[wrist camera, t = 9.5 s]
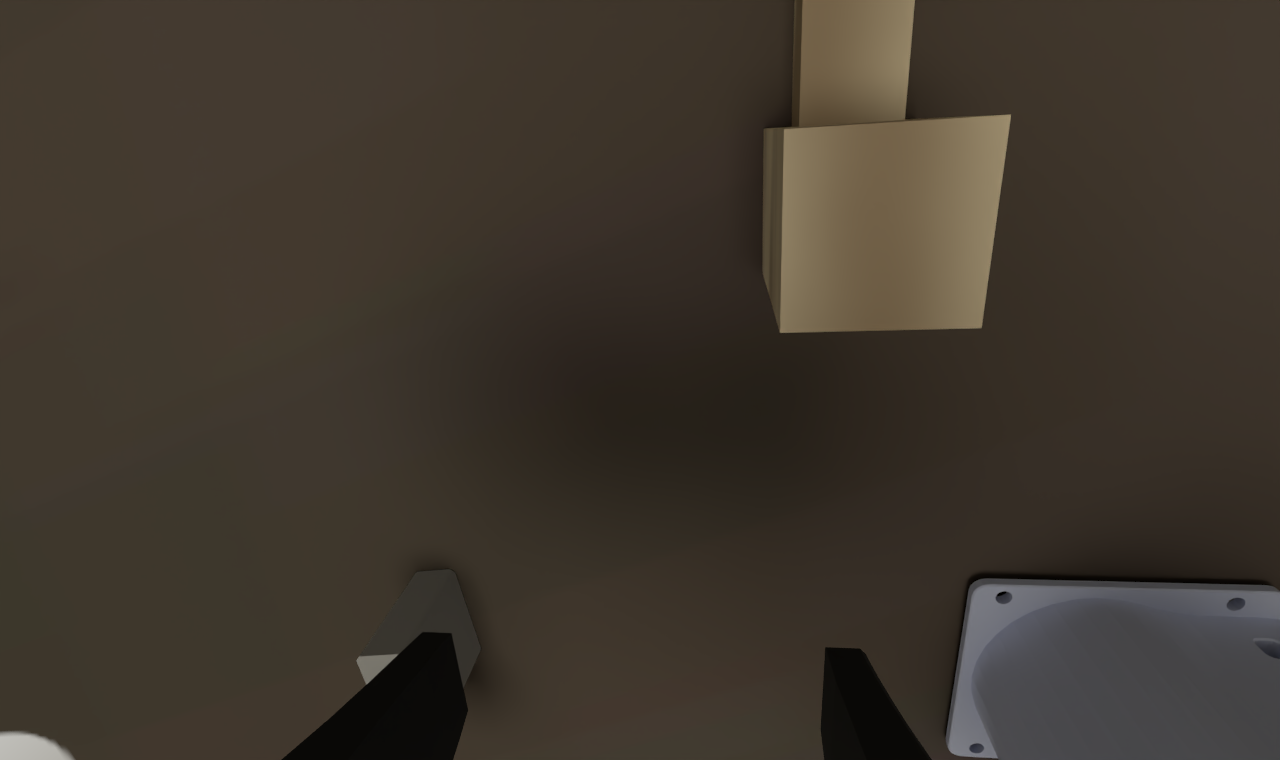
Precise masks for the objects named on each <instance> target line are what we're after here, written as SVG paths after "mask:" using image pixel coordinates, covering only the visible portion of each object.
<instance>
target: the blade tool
mask: <svg viewBox="0 0 1280 760" xmlns="http://www.w3.org/2000/svg"><path fill="white" fill-rule="evenodd" d="M914 4H915V0H795V3H794V45H793V88H792V127H779V128H764V151H763V266H762V273H763V276H764V280H765V283H766V287H767V290H768V293H769V297H770V300H771V304H772V307H773V311H774V314H775V317H776V321H777V324H778V328H779V331H780V333H796V332H838V331H881V330H923V329H966V328H982V321H983V314H984V307H985V299H986V292H987V285H988V278H989V270H990V263H991V256H992V249H993V242H994V234H995V227H996V220H997V213H998V205H999V198H1000V191H1001V184H1002V177H1003V169H1004V162H1005V155H1006V148H1007V140H1008V133H1009V126H1010V119H1011V115H991V116H967V117H944V118H920V119H905V112H906V100H907V88H908V76H909V64H910V52H911V40H912V28H913V16H914Z"/></svg>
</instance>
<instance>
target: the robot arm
mask: <svg viewBox="0 0 1280 760" xmlns="http://www.w3.org/2000/svg"><path fill="white" fill-rule="evenodd" d="M1004 591H1006V593H1005V594H1004V595H1002V596H996V595H997V594H998V593H1000V592H1004ZM1233 598H1234V599H1233ZM1231 599H1233V600H1232V601H1230V602H1228V601H1229V600H1231ZM467 712H468V708H467V703H466V698H465V694H464V689H463V684H462V680H461V675H460V670H459V665H458V661H457V656H456V651H455V647H454V642H453V637H452V633H438V632H422V633H421V634H420V635H419V636H418V637H417V638H415V639H414V640H413V641H412V642H411V643H410V644H409V645H408V646H407V647H406V648H405V649H404V650H403V651H402V652H401V653H399V654H398V655H397V656H396V657H395V658H394V659H393V660H392V661H391V662H390V663H389V664H388V665H387V666H386V667H385V668H384V669H383V670H381V671H380V672H379V673H378V674H377V675H376V676H375V677H374V678H373V679H372V680H371V681H370V682H369V683H368V684H367V685H366V686H365V687H363V688H362V689H361V690H360V691H359V692H358V693H357V694H356V695H355V696H354V697H353V698H352V699H350V700H349V701H348V702H347V703H346V704H345V705H344V706H343V707H342V708H341V709H340V710H338V711H337V712H336V713H335V714H334V715H333V716H332V717H331V718H330V719H329V720H327V721H326V722H325V723H324V724H323V725H322V726H320V727H319V728H318V729H317V730H316V731H315V732H313V733H312V734H311V735H310V736H309V737H308V738H306V739H305V740H304V741H303V742H302V743H300V744H299V745H298V746H297V747H296V748H295V749H293V750H292V751H291V752H290V753H289V754H288V755H286V756H285V757H284V758H283V759H282V760H453V758H454V755H455V752H456V749H457V745H458V742H459V739H460V736H461V732H462V729H463V725H464V722H465V719H466V715H467ZM821 736H822V744H823V752H824V760H931V758H930V757H929V755H928V754H927V752H926V751H925V749H924V748H923V747H922V745H921V744H920V742H919V741H918V739H917V738H916V736H915V735H914V733H913V732H912V731H911V729H910V728H909V726H908V725H907V723H906V721H905V720H904V718H903V717H902V715H901V714H900V712H899V711H898V709H897V707H896V706H895V704H894V703H893V701H892V699H891V698H890V696H889V695H888V693H887V691H886V690H885V688H884V686H883V685H882V683H881V681H880V679H879V678H878V676H877V674H876V672H875V671H874V669H873V667H872V665H871V663H870V662H869V660H868V658H867V656H866V654H865V653H864V652H863V651H862V650H861V649H854V648H828V647H825V664H824V681H823V699H822V716H821ZM975 743H976V744H975ZM946 744H947V746H948V749H949V750H950V752H951V753H953V754H955V755H958V756H967V757H985V758H998V759H999V760H1280V591H1279V590H1278V589H1277V588H1275V587H1273V586H1269V585H1239V584H1198V583H1156V582H1115V581H1073V580H1032V579H990V578H985V579H979V580H977V581H975V582H974V583H973V584H972V585H970V588H969V591H968V597H967V604H966V610H965V617H964V623H963V629H962V636H961V642H960V649H959V655H958V662H957V668H956V674H955V681H954V687H953V694H952V700H951V707H950V713H949V720H948V726H947V732H946Z"/></svg>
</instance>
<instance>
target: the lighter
mask: <svg viewBox="0 0 1280 760" xmlns="http://www.w3.org/2000/svg"><path fill="white" fill-rule="evenodd" d="M422 632H438V633H452V637H453V642H454V647H455V651H456V656H457V661H458V665H459V670H460V675H461V680H462V684H463V688H464V686H465V684H466V682H467V679H468V677H469V675H470V673H471V671H472V668H473V666H474V664H475V662H476V659H477V657H478V655H479V653H480V651H481V647H480V644H479V641H478V638H477V635H476V632H475V629H474V626H473V623H472V620H471V617H470V614H469V612H468V609H467V606H466V603H465V600H464V597H463V594H462V591H461V588H460V585H459V582H458V579H457V576H456V573H455V572H454V571H452V570H450V569H444V570H432V571H420V572H416V573H415V575H414V576H413V578H412V579H411V581H410V582H409V584H408V585H407V587H406V588H405V590H404V591H403V593H402V594H401V595H400V597H399V598H398V600H397V601H396V603H395V604H394V606H393V607H392V609H391V610H390V612H389V613H388V615H387V616H386V618H385V619H384V621H383V622H382V624H381V625H380V627H379V628H378V630H377V631H376V632H375V634H374V635H373V637H372V638H371V640H370V641H369V643H368V644H367V646H366V647H365V649H364V650H363V652H362V653H361V655H360V656H359V658H358V659H357V664H358V666H359V668H360V671H361V673H362V675H363V678H364V680H365V682H366V685H367V684H368V683H369V682H370V681H371V680H372V679H373V678H374V677H375V676H376V675H377V674H378V673H379V672H380V671H381V670H383V669H384V668H385V667H386V666H387V665H388V664H389V663H390V662H391V661H392V660H393V659H394V658H395V657H396V656H397V655H398V654H399V653H401V652H402V651H403V650H404V649H405V648H406V647H407V646H408V645H409V644H410V643H411V642H412V641H413V640H414V639H415V638H417V637H418V636H419V635H420V634H421V633H422Z"/></svg>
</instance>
